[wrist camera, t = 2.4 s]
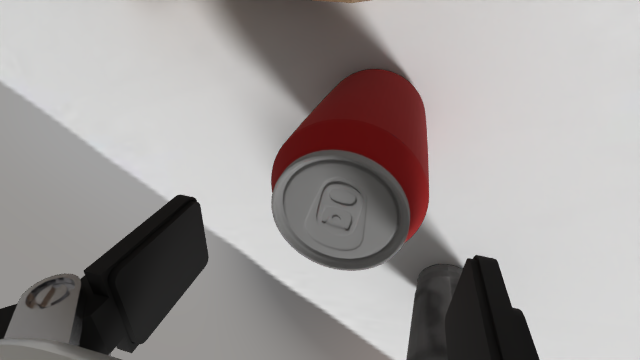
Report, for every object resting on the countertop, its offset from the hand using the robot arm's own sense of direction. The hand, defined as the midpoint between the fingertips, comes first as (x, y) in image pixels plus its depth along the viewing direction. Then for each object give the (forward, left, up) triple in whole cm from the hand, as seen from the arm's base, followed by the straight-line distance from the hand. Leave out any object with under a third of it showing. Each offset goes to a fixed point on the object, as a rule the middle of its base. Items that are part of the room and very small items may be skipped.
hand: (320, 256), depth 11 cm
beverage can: (-1, 0, -14) cm, 14 cm away
